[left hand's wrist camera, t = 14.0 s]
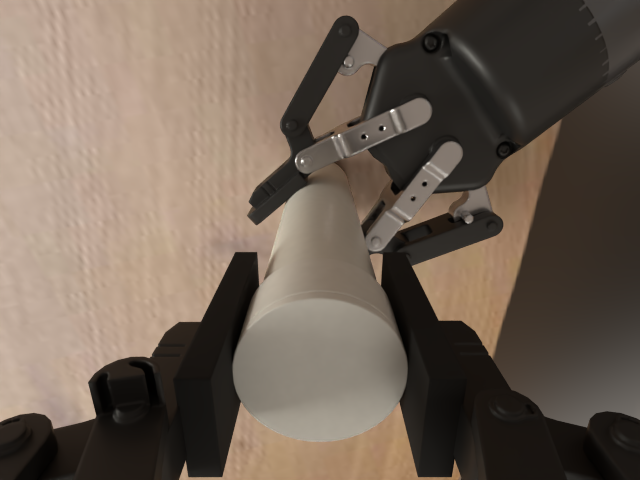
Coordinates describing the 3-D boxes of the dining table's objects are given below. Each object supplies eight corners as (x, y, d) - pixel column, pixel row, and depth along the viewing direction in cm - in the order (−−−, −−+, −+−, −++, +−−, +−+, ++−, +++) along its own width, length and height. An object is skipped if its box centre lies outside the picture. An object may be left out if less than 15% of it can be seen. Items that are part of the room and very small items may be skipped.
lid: (352, 231, 11) (361, 267, 9) (415, 348, 13) (435, 404, 11) (219, 296, 12) (196, 345, 10) (292, 401, 14) (287, 464, 11)
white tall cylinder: (358, 172, 28) (423, 326, 10) (335, 224, 29) (358, 438, 12) (303, 150, 27) (274, 273, 10) (282, 203, 29) (224, 396, 11)
